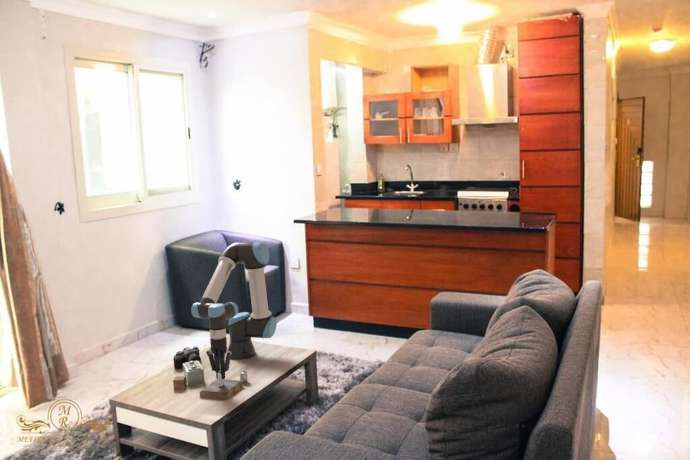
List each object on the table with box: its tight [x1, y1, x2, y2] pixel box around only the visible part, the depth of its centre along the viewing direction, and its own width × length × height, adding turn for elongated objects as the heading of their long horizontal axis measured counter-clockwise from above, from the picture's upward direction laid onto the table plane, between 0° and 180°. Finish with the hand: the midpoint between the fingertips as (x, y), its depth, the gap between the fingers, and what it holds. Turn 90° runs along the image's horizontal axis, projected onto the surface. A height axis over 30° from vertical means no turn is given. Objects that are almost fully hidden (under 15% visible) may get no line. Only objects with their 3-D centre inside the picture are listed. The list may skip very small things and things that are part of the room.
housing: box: [182, 361, 205, 386], centre depth 290 cm, size 8×14×8 cm, turn 24°
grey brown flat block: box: [199, 378, 244, 401], centre depth 273 cm, size 16×14×3 cm
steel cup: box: [239, 370, 249, 384], centre depth 284 cm, size 4×4×5 cm
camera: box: [173, 345, 202, 370], centre depth 309 cm, size 16×10×10 cm, turn 142°
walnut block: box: [172, 375, 188, 391], centre depth 280 cm, size 5×5×5 cm
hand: (221, 385), depth 273 cm, fingers closed, pressing on grey brown flat block
